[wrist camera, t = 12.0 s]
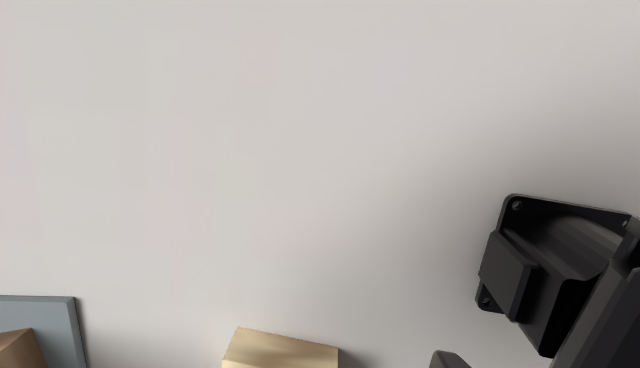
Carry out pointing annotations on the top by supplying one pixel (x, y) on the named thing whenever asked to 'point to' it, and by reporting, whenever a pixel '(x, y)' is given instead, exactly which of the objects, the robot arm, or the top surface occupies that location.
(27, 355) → the walnut pillar
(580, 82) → the top surface
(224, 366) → the maple brick
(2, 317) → the slate coaster
